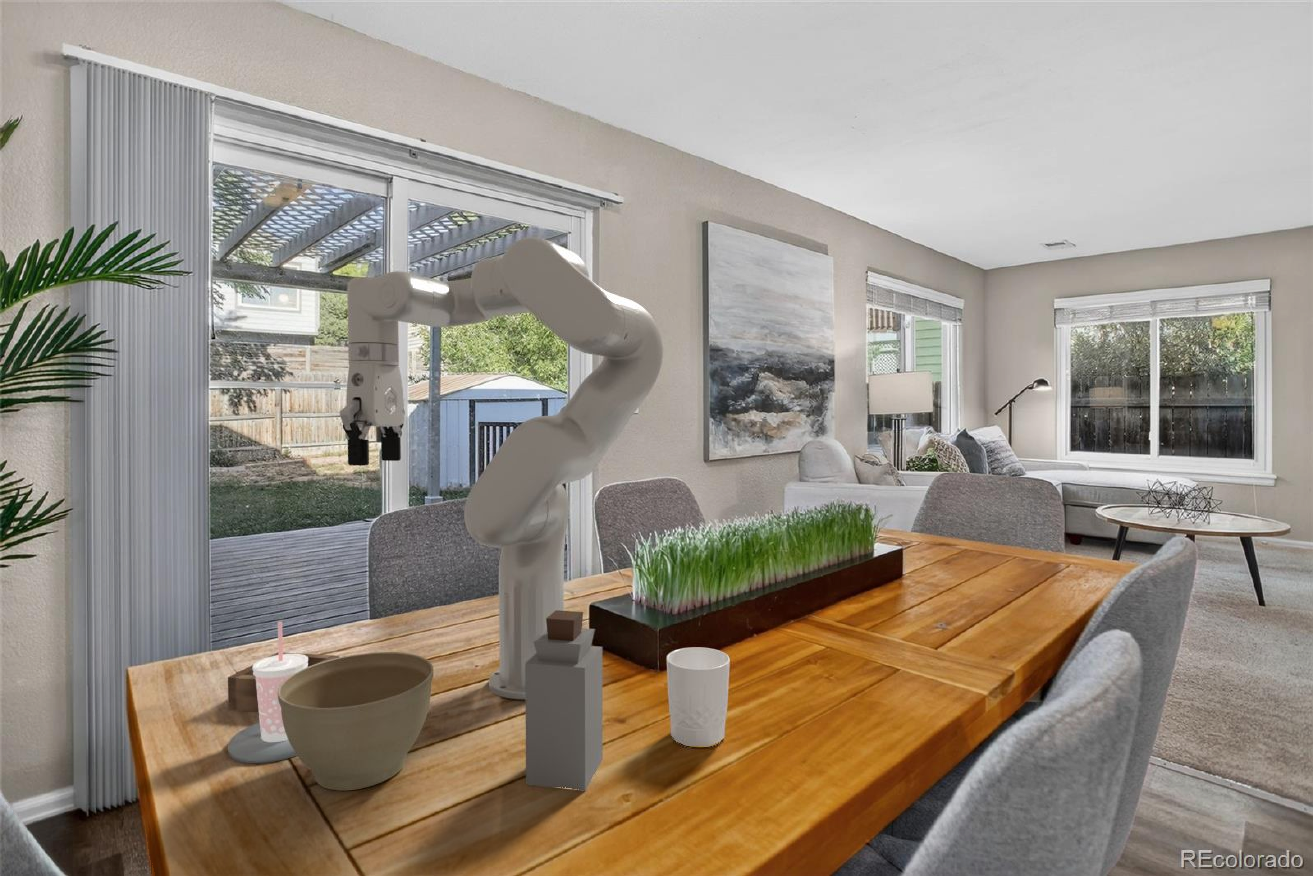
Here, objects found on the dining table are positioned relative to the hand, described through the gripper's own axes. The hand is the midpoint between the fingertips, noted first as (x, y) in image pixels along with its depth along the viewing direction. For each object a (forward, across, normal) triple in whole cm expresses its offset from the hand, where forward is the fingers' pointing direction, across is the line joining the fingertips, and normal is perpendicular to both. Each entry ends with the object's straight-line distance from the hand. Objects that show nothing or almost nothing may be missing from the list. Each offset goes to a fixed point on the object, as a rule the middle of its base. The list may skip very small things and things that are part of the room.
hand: (375, 462), depth 113 cm
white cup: (+32, -19, -54) cm, 66 cm away
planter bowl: (+32, -33, -17) cm, 49 cm away
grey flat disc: (+32, -28, -3) cm, 43 cm away
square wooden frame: (+32, -16, +5) cm, 36 cm away
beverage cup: (+32, -28, -3) cm, 42 cm away
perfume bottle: (+32, -30, -40) cm, 60 cm away
